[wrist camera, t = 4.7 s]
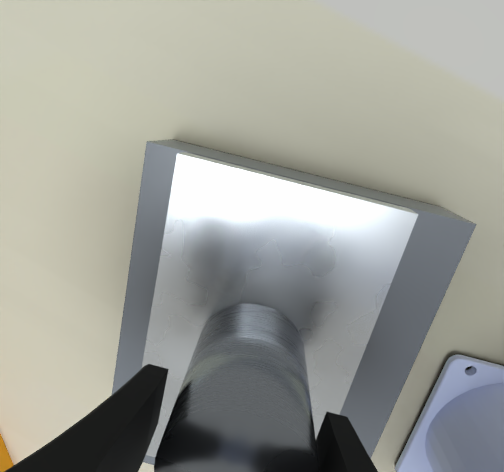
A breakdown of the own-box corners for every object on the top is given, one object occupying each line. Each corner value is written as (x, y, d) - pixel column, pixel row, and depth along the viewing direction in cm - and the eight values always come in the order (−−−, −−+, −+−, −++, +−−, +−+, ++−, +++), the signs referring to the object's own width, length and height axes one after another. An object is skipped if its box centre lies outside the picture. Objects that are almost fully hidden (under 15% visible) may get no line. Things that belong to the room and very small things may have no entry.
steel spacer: (317, 318, 13) (342, 435, 8) (288, 404, 14) (294, 551, 9) (209, 291, 13) (167, 392, 8) (190, 381, 14) (143, 515, 9)
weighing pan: (408, 208, 12) (418, 214, 11) (305, 479, 16) (306, 498, 15) (185, 152, 12) (177, 153, 11) (136, 432, 16) (128, 450, 15)
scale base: (440, 206, 15) (480, 226, 12) (335, 460, 20) (344, 523, 16) (173, 139, 15) (143, 141, 12) (130, 405, 20) (100, 456, 17)
